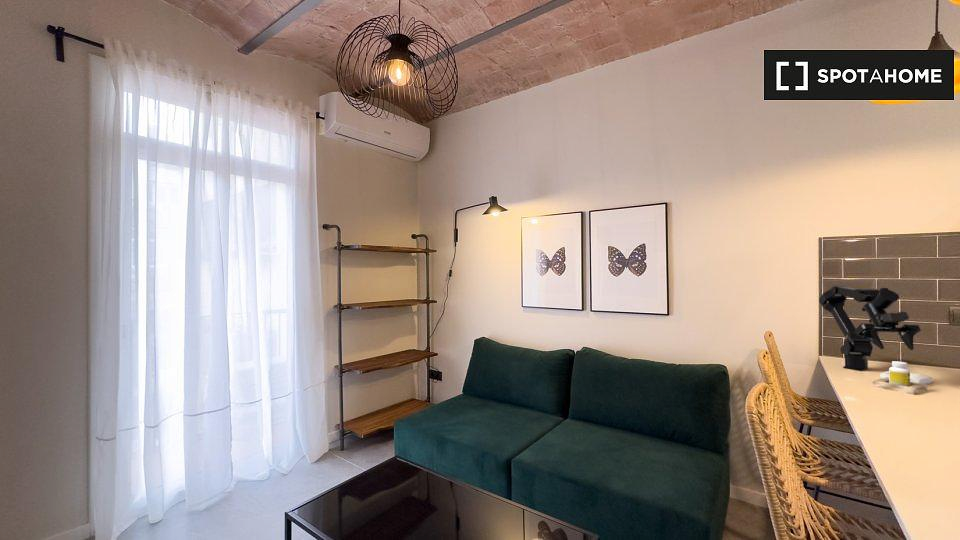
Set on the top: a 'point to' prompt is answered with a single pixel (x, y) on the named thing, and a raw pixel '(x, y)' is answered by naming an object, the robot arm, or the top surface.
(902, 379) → the supplement bottle
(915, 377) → the plastic tray
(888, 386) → the wooden square frame
